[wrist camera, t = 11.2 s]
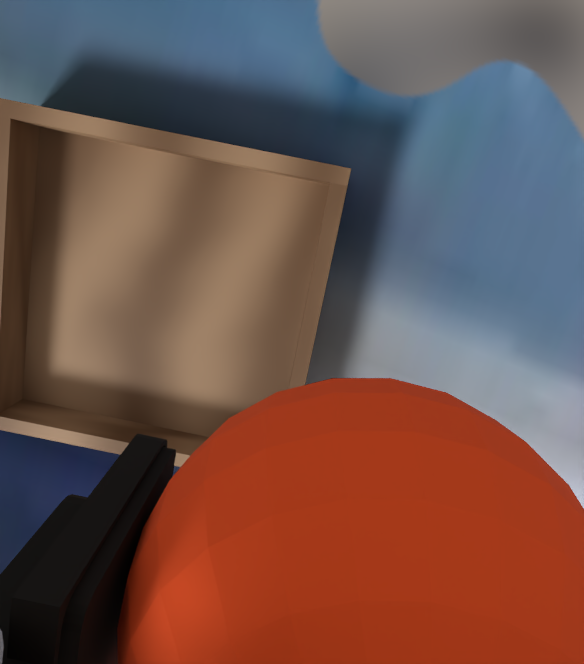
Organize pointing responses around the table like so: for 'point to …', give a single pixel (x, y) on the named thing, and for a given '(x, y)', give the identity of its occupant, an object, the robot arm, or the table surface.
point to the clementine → (359, 539)
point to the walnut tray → (152, 278)
